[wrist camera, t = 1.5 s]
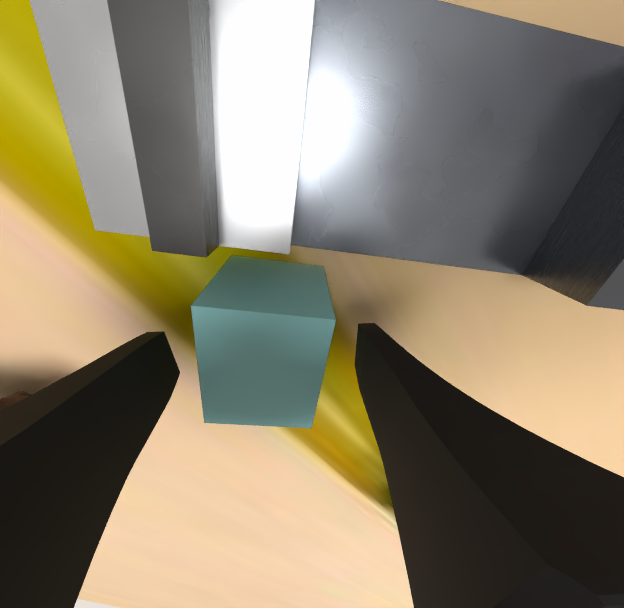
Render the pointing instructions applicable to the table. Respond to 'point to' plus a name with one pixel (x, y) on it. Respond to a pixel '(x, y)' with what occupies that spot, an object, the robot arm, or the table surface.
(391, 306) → the table surface
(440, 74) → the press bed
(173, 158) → the grey stepped block
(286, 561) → the table surface
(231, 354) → the teal block
